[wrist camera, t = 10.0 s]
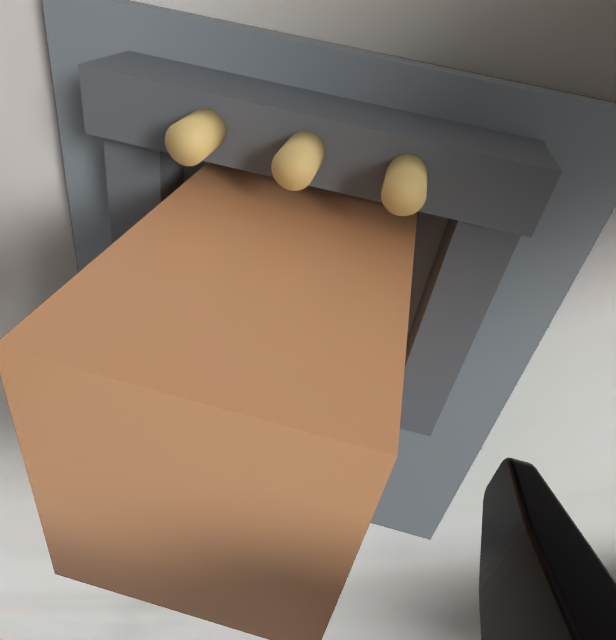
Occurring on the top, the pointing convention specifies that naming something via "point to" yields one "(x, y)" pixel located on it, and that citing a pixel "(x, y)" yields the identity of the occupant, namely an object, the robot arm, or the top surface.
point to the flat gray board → (353, 188)
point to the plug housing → (220, 400)
